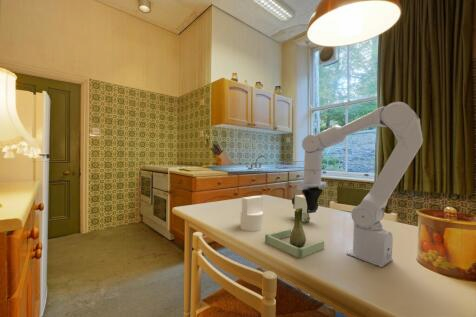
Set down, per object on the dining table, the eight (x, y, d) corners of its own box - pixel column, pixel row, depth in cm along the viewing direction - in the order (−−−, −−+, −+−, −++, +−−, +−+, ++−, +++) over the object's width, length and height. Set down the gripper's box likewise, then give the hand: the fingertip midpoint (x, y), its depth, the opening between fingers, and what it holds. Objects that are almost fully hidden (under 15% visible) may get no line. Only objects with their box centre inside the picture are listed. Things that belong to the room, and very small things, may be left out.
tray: (323, 248, 69) (324, 241, 69) (299, 258, 62) (300, 250, 62) (289, 234, 81) (289, 228, 81) (265, 242, 73) (265, 234, 73)
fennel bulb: (298, 241, 75) (299, 206, 75) (309, 246, 71) (311, 209, 71) (285, 244, 72) (286, 207, 72) (297, 250, 68) (298, 211, 68)
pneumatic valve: (310, 225, 93) (311, 196, 92) (290, 217, 103) (291, 192, 103) (319, 223, 95) (320, 196, 95) (299, 216, 105) (300, 191, 105)
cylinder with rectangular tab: (251, 232, 82) (252, 200, 82) (235, 226, 89) (236, 196, 88) (267, 228, 88) (268, 197, 88) (251, 222, 95) (252, 194, 94)
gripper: (314, 169, 85) (313, 204, 85) (290, 169, 76) (288, 209, 76) (332, 170, 79) (330, 208, 79) (307, 171, 70) (306, 213, 71)
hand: (311, 209), depth 77 cm, fingers closed
